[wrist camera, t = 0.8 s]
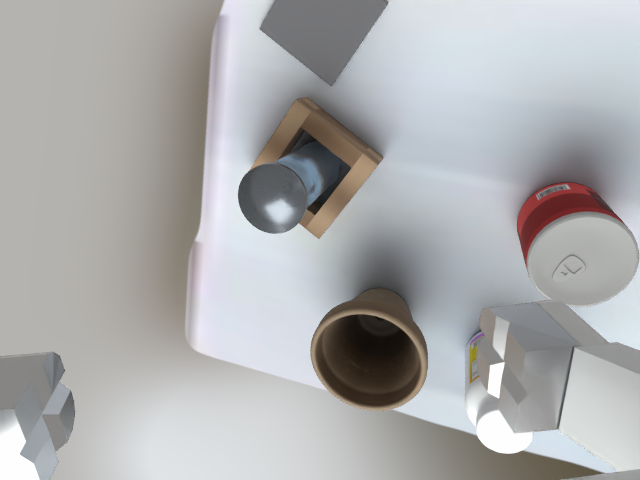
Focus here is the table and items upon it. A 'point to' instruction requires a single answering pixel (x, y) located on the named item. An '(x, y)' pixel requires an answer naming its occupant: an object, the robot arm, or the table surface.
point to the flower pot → (370, 351)
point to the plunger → (287, 187)
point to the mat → (322, 31)
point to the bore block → (337, 141)
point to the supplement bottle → (488, 409)
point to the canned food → (575, 245)
